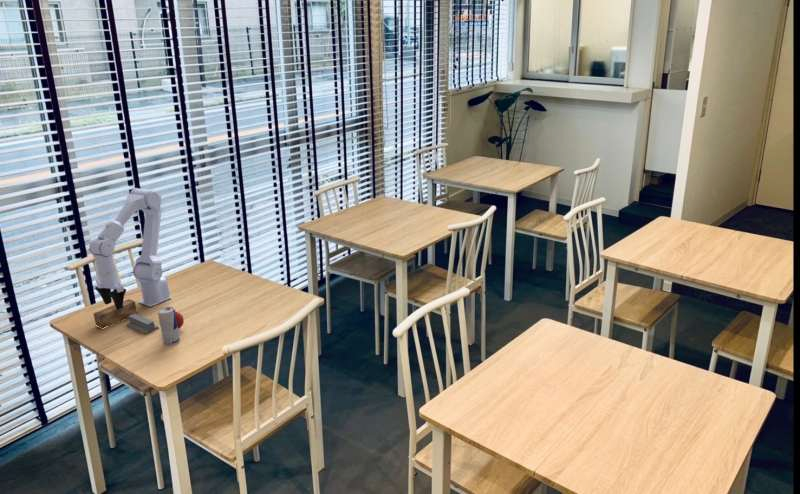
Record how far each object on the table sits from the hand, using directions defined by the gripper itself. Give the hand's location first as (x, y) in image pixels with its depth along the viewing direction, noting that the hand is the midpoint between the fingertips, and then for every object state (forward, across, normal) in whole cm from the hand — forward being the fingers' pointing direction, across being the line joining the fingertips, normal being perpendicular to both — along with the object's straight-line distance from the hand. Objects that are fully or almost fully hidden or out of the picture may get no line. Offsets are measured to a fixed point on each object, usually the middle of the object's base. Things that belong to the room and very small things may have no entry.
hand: (114, 305), depth 230 cm
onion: (+6, +26, +7) cm, 28 cm away
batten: (+6, 0, 0) cm, 6 cm away
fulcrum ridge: (+6, +13, +2) cm, 14 cm away
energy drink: (+6, +32, +1) cm, 33 cm away
